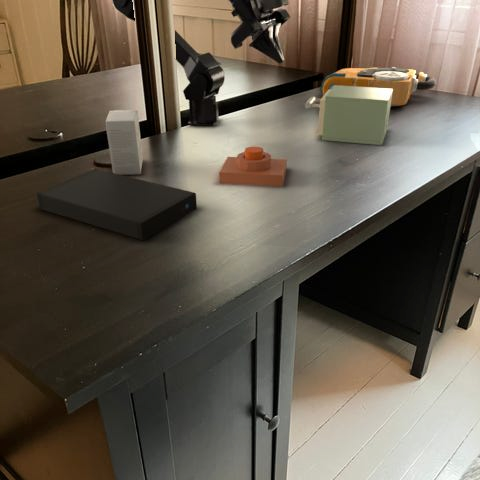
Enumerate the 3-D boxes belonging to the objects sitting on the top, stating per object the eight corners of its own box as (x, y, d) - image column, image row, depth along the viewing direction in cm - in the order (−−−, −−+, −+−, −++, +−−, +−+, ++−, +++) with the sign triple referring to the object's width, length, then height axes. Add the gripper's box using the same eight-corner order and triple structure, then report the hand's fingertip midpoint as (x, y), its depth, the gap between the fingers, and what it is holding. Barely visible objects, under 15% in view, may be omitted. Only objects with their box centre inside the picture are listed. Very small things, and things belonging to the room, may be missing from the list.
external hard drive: (98, 183, 102) (96, 168, 100) (197, 209, 92) (196, 192, 90) (40, 209, 92) (36, 193, 90) (143, 241, 82) (141, 223, 80)
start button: (243, 161, 101) (243, 151, 100) (246, 154, 104) (246, 145, 103) (262, 161, 101) (262, 152, 100) (264, 155, 104) (264, 146, 103)
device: (336, 59, 162) (439, 64, 154) (333, 88, 167) (433, 94, 159) (320, 73, 144) (436, 79, 136) (318, 105, 149) (429, 113, 141)
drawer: (301, 133, 124) (303, 98, 120) (310, 121, 132) (312, 88, 128) (372, 139, 120) (377, 103, 116) (377, 127, 128) (382, 92, 124)
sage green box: (321, 140, 123) (325, 96, 118) (330, 126, 132) (334, 85, 127) (381, 145, 120) (388, 100, 114) (386, 131, 129) (393, 88, 123)
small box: (116, 162, 112) (109, 109, 106) (143, 161, 112) (137, 109, 106) (112, 175, 105) (104, 121, 99) (141, 174, 106) (134, 120, 100)
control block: (219, 183, 102) (218, 162, 99) (227, 167, 109) (227, 147, 107) (282, 186, 100) (283, 165, 98) (286, 170, 107) (287, 150, 105)
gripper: (246, -25, 104) (290, 47, 107) (287, -34, 117) (325, 31, 120) (211, 14, 112) (253, 80, 115) (252, 2, 124) (289, 61, 128)
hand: (282, 62), depth 119 cm, fingers closed
